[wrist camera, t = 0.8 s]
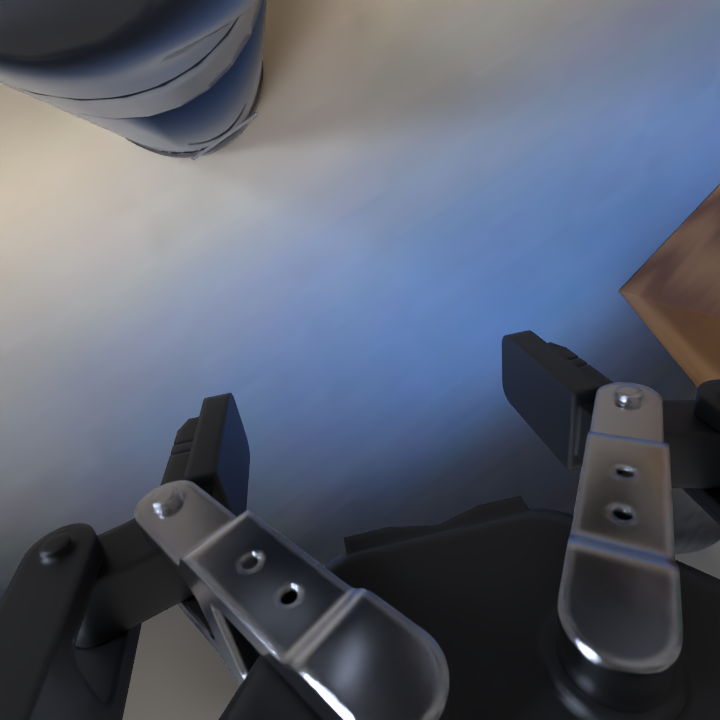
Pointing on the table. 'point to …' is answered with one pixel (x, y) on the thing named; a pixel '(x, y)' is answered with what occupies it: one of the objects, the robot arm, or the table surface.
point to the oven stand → (685, 292)
